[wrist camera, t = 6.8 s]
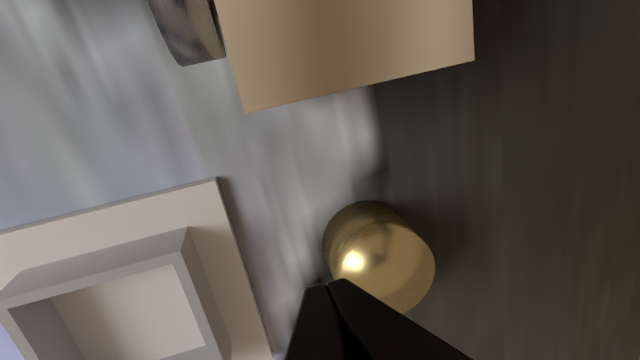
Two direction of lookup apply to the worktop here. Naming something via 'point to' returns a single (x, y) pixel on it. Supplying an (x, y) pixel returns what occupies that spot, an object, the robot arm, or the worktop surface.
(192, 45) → the shaft
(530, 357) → the worktop surface
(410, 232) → the cylinder
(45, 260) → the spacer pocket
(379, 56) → the bearing block
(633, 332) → the worktop surface
